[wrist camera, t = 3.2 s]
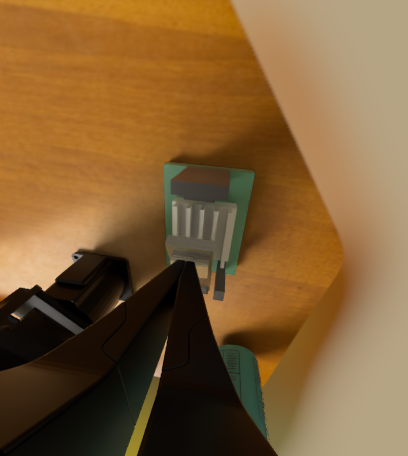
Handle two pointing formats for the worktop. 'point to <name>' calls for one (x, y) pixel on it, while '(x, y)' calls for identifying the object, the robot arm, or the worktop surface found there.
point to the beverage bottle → (246, 381)
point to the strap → (193, 255)
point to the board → (209, 211)
